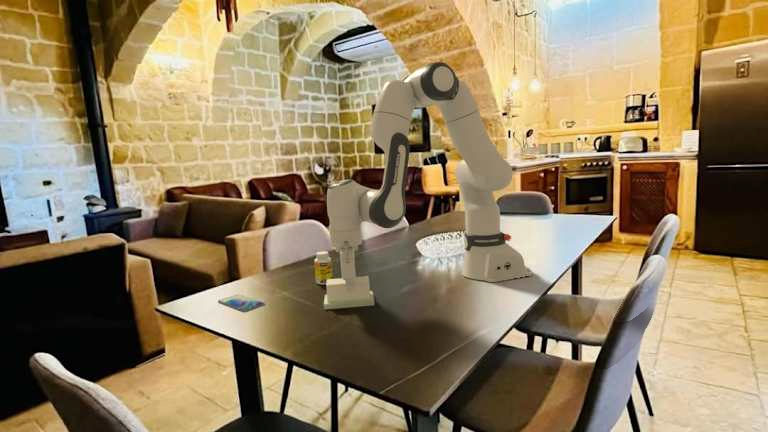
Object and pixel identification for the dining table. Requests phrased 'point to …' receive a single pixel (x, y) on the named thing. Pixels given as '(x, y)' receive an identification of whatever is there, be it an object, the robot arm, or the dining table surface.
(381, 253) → the dining table surface
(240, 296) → the smartphone
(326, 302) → the board
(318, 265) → the supplement bottle
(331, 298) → the block
